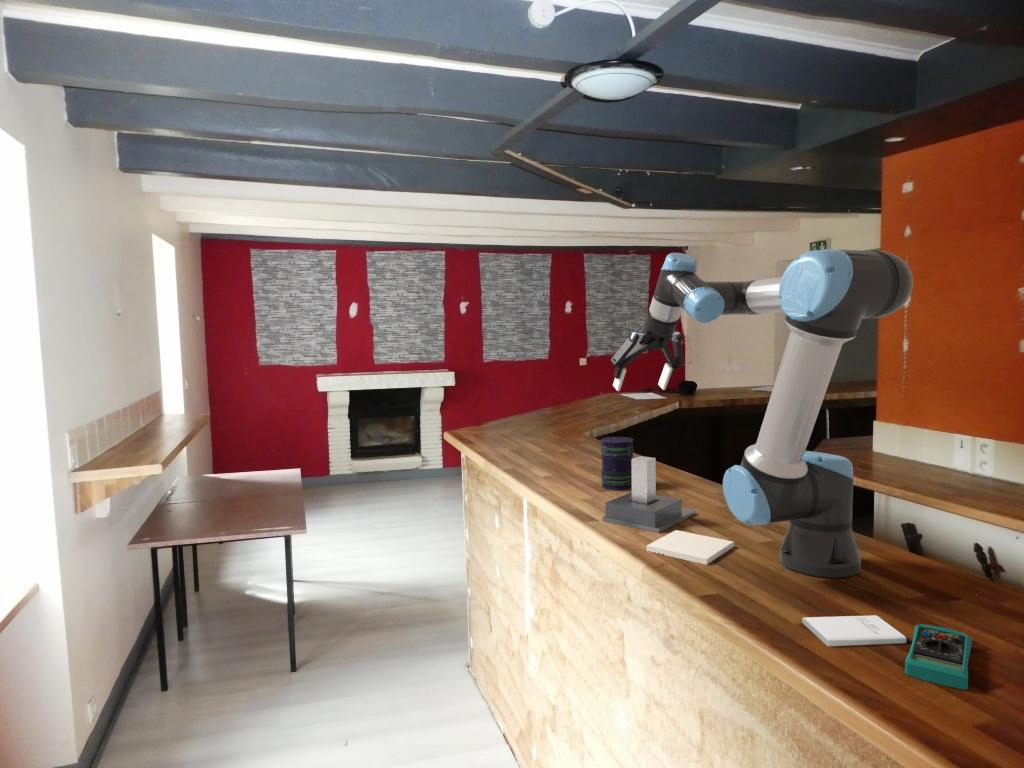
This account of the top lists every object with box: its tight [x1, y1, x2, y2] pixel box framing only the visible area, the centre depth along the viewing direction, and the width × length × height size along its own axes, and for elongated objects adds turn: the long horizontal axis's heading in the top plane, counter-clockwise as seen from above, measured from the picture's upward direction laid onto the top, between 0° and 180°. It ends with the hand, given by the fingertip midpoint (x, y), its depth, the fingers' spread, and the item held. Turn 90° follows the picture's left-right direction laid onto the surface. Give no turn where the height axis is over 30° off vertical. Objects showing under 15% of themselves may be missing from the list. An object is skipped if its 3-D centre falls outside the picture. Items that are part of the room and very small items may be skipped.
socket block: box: [601, 491, 697, 534], centre depth 170 cm, size 16×20×5 cm
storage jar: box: [600, 436, 634, 492], centre depth 202 cm, size 10×10×15 cm
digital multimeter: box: [904, 623, 972, 691], centre depth 96 cm, size 7×15×3 cm, turn 143°
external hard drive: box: [801, 614, 907, 647], centre depth 105 cm, size 2×8×12 cm
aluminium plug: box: [631, 455, 657, 505], centre depth 167 cm, size 4×4×15 cm
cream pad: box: [646, 529, 735, 566], centre depth 146 cm, size 14×14×1 cm
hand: (639, 387), depth 171 cm, fingers open, 13 cm apart
